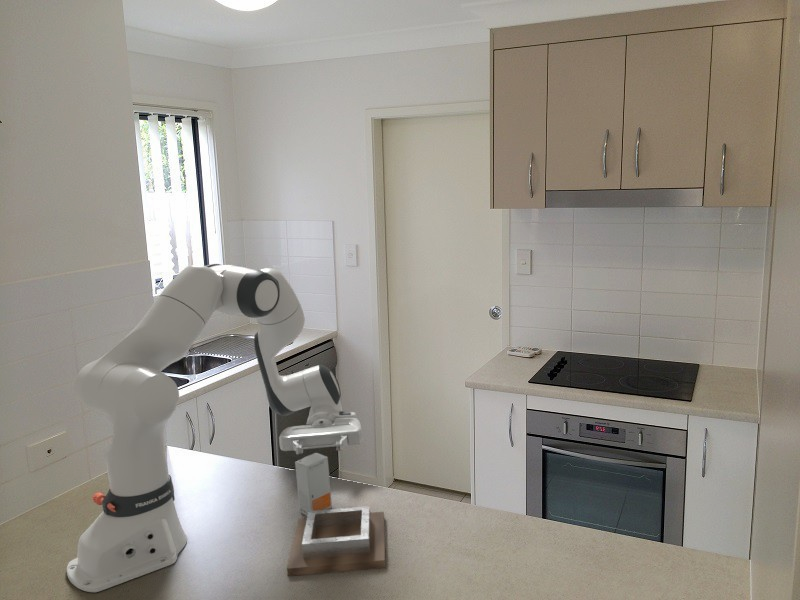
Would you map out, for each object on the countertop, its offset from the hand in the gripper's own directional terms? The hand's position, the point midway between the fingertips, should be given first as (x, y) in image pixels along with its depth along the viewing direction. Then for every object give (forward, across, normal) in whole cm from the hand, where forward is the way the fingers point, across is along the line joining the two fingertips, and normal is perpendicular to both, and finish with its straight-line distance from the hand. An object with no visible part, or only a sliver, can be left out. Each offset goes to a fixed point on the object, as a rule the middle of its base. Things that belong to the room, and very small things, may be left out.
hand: (318, 449), depth 158 cm
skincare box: (+12, 0, +9) cm, 15 cm away
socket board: (+28, +5, +8) cm, 29 cm away
